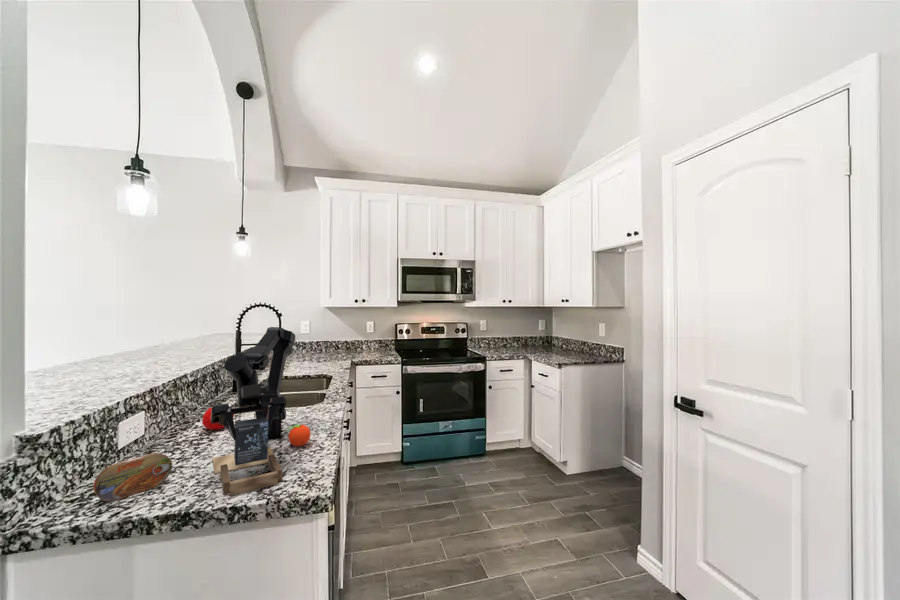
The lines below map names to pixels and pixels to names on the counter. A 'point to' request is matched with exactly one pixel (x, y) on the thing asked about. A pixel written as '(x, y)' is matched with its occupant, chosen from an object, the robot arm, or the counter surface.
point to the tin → (132, 476)
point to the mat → (231, 462)
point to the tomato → (207, 421)
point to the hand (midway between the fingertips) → (252, 436)
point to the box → (251, 440)
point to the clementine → (299, 435)
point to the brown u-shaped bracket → (251, 479)
